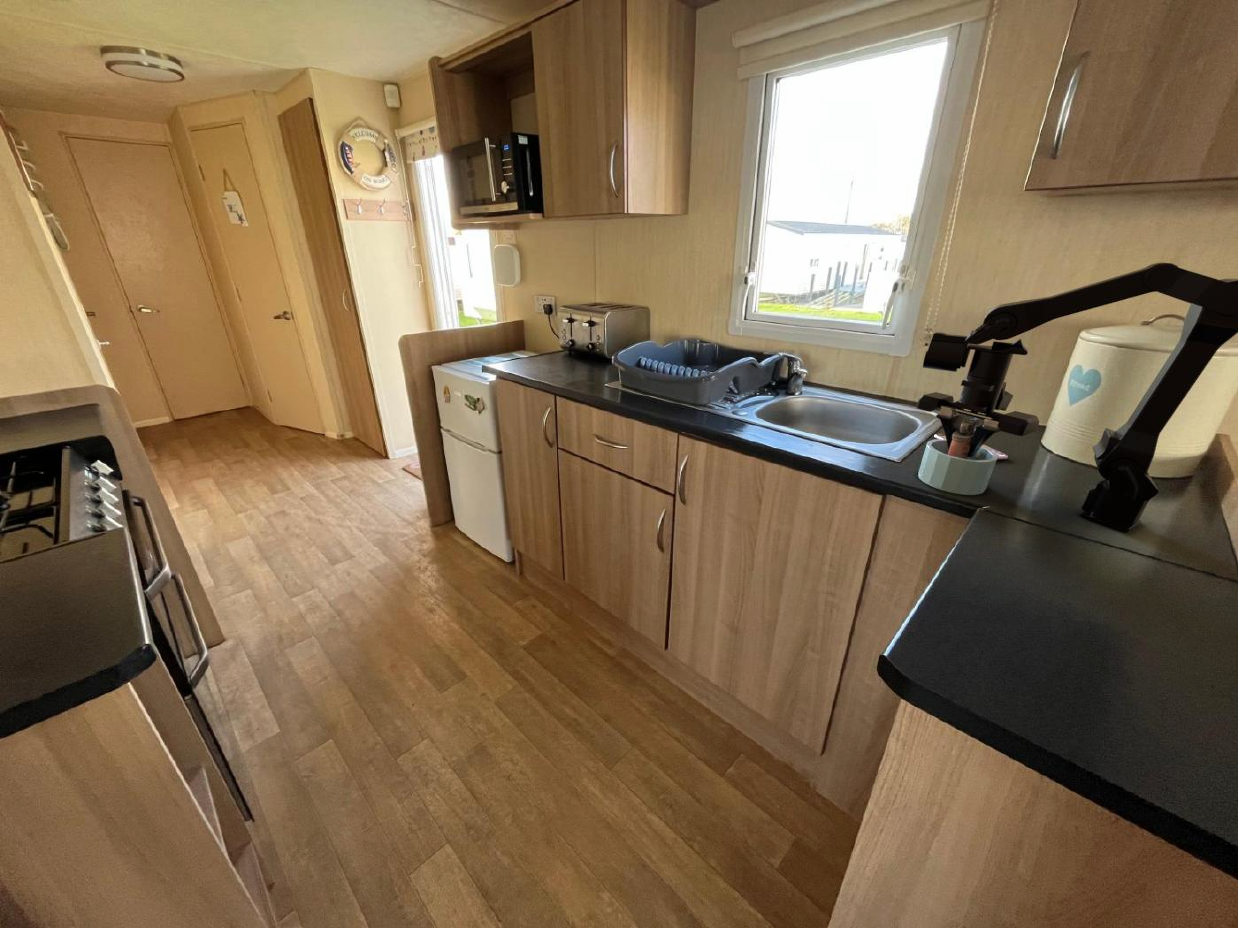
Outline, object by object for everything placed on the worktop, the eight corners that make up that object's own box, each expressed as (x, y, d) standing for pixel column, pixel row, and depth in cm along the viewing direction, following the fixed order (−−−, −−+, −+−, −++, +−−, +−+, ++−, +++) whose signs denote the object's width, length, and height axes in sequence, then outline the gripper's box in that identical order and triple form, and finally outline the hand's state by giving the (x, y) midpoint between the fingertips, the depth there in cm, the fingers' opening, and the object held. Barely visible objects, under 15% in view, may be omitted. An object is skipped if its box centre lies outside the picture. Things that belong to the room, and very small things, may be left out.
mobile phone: (960, 432, 122) (1011, 455, 108) (958, 435, 122) (1009, 459, 109) (932, 433, 121) (980, 456, 107) (931, 436, 121) (979, 460, 108)
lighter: (956, 475, 93) (972, 426, 89) (937, 469, 96) (952, 421, 92) (973, 465, 98) (989, 418, 94) (955, 459, 100) (970, 414, 96)
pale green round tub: (996, 486, 96) (1009, 454, 93) (966, 500, 91) (978, 466, 88) (937, 465, 105) (946, 435, 102) (906, 476, 100) (915, 445, 97)
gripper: (1067, 382, 86) (1035, 462, 92) (956, 361, 100) (935, 432, 107) (1038, 390, 80) (1006, 474, 87) (925, 367, 95) (905, 441, 101)
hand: (960, 453), depth 96 cm, fingers closed on lighter, 3 cm apart
